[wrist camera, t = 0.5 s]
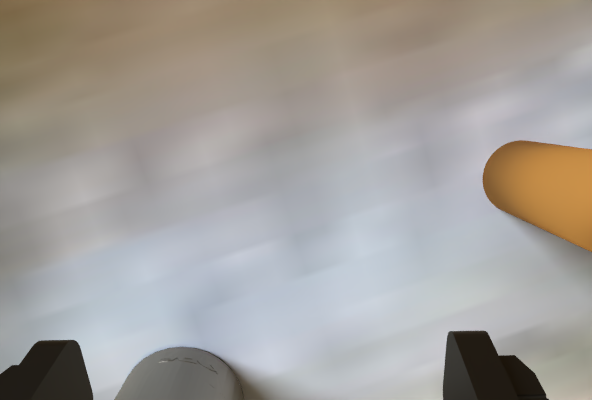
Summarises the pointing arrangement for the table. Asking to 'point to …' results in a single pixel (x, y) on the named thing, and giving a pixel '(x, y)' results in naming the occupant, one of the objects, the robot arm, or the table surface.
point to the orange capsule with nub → (544, 187)
